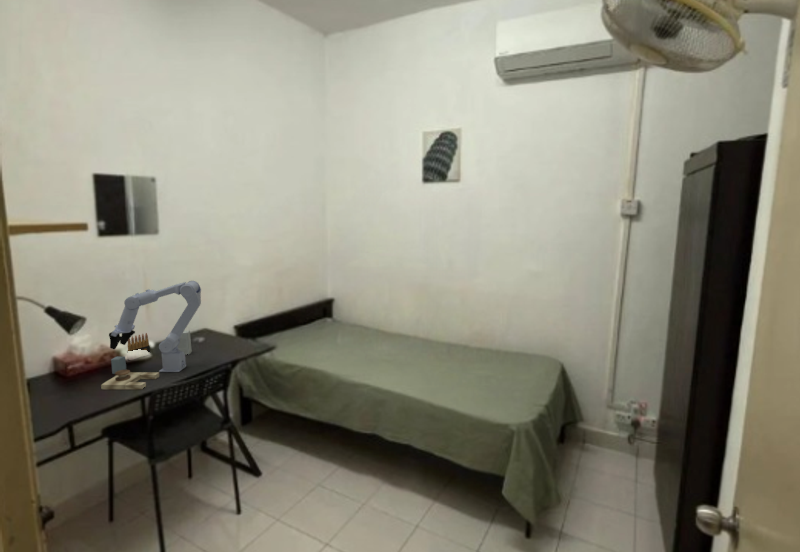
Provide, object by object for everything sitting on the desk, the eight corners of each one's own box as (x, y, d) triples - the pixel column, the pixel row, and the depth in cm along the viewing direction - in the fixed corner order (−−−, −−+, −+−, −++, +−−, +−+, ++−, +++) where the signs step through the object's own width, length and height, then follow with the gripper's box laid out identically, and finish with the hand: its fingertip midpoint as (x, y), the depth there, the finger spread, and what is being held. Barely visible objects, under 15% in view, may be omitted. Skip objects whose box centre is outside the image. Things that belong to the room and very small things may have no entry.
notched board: (159, 376, 197) (158, 366, 196) (142, 389, 183) (141, 378, 182) (121, 376, 196) (120, 366, 196) (101, 389, 183) (100, 378, 182)
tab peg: (126, 370, 203) (125, 356, 202) (121, 374, 199) (119, 359, 198) (117, 370, 203) (116, 356, 202) (112, 373, 199) (111, 359, 198)
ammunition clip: (129, 360, 216) (127, 337, 214) (127, 360, 217) (125, 337, 215) (150, 354, 225) (149, 332, 223) (148, 354, 226) (146, 332, 224)
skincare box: (191, 352, 230) (190, 330, 228) (189, 354, 226) (187, 332, 224) (179, 352, 229) (178, 330, 227) (176, 355, 225) (175, 333, 223)
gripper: (128, 313, 206) (118, 339, 207) (109, 319, 191) (99, 347, 193) (142, 318, 206) (133, 344, 208) (124, 325, 192) (114, 353, 193)
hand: (117, 346), depth 200 cm, fingers open, 7 cm apart
